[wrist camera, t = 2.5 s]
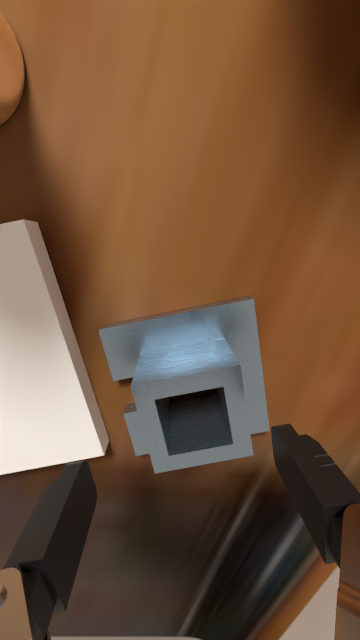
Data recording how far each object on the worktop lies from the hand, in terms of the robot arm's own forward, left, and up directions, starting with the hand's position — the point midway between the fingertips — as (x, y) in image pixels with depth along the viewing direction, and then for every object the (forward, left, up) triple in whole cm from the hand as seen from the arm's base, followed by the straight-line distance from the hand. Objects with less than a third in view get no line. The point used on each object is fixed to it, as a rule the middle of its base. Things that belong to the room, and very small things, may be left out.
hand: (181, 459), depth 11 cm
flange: (-1, 0, -8) cm, 8 cm away
